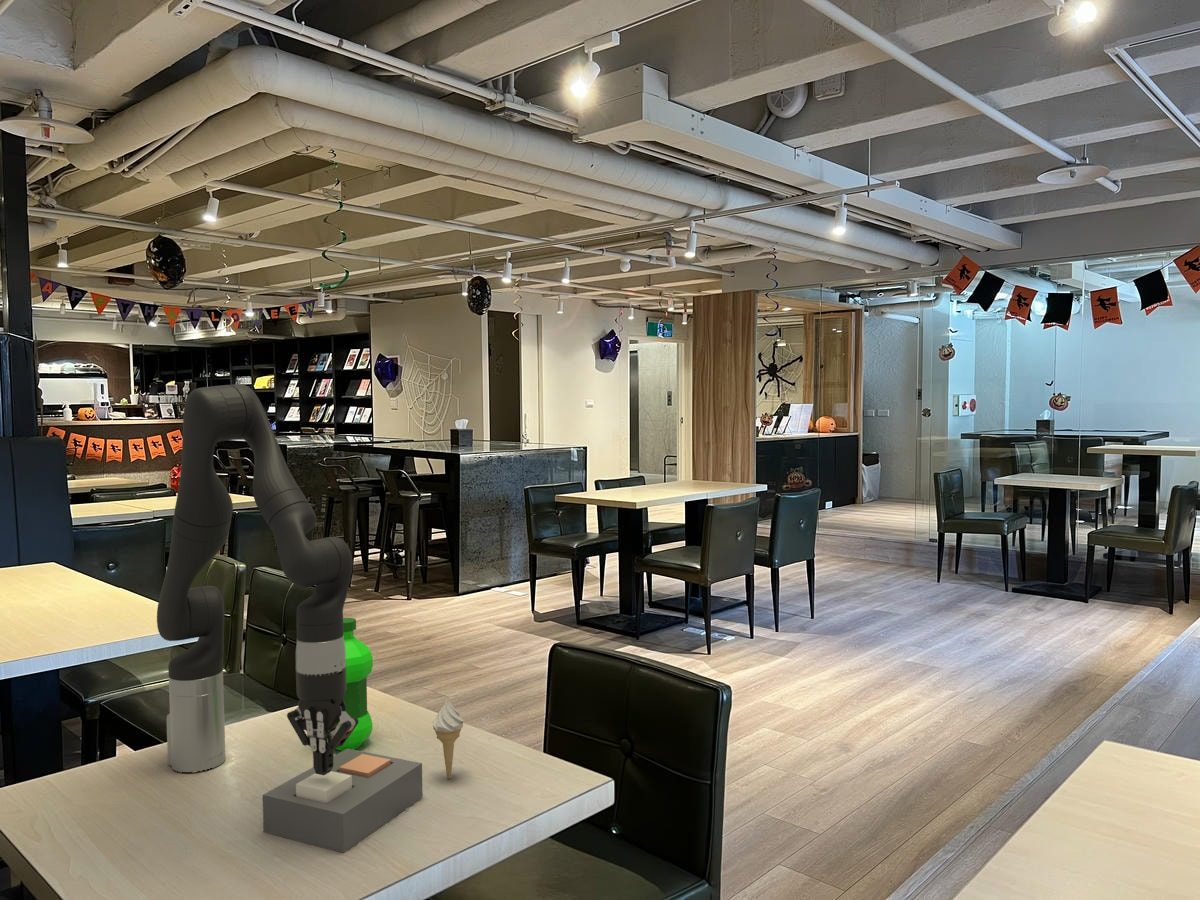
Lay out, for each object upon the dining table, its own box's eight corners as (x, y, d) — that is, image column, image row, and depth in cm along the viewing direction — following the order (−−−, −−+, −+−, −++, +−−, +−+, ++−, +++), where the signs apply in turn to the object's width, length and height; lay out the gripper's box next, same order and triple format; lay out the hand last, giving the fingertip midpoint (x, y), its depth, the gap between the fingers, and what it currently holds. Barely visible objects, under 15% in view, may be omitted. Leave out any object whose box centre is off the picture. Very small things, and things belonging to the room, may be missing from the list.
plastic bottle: (312, 743, 173) (309, 619, 172) (363, 731, 180) (361, 611, 178) (330, 760, 165) (327, 630, 164) (383, 747, 172) (380, 621, 170)
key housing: (263, 831, 138) (262, 794, 138) (348, 781, 156) (347, 748, 156) (343, 852, 131) (343, 814, 131) (422, 797, 150) (422, 763, 149)
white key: (296, 802, 137) (295, 784, 137) (322, 787, 143) (322, 769, 143) (326, 809, 135) (325, 790, 135) (352, 793, 140) (351, 775, 140)
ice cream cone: (470, 775, 158) (469, 694, 157) (452, 788, 153) (451, 704, 152) (444, 770, 161) (443, 690, 160) (426, 782, 156) (425, 699, 155)
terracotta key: (339, 784, 147) (339, 767, 146) (362, 770, 152) (362, 753, 152) (368, 790, 144) (368, 773, 144) (391, 776, 150) (390, 759, 149)
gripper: (271, 667, 137) (274, 775, 138) (337, 677, 132) (340, 789, 132) (305, 654, 144) (308, 757, 145) (370, 663, 138) (372, 770, 139)
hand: (323, 772), depth 139 cm, fingers closed
